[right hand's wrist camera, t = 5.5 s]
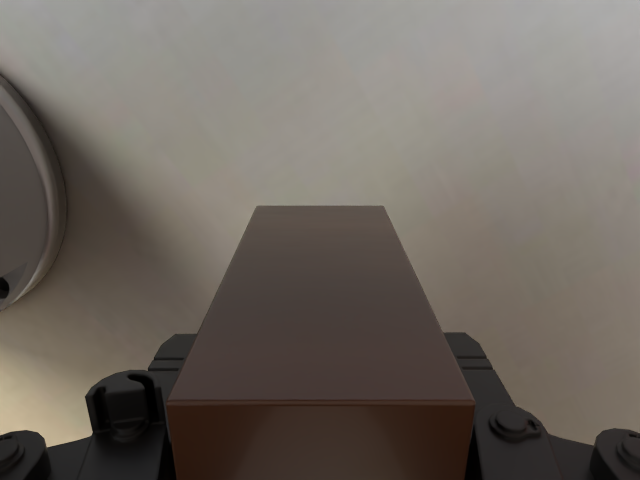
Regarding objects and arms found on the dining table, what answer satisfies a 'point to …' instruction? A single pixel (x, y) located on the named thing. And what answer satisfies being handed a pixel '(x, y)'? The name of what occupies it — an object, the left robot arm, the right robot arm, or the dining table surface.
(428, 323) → the walnut bar
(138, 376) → the right robot arm
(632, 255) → the dining table surface
